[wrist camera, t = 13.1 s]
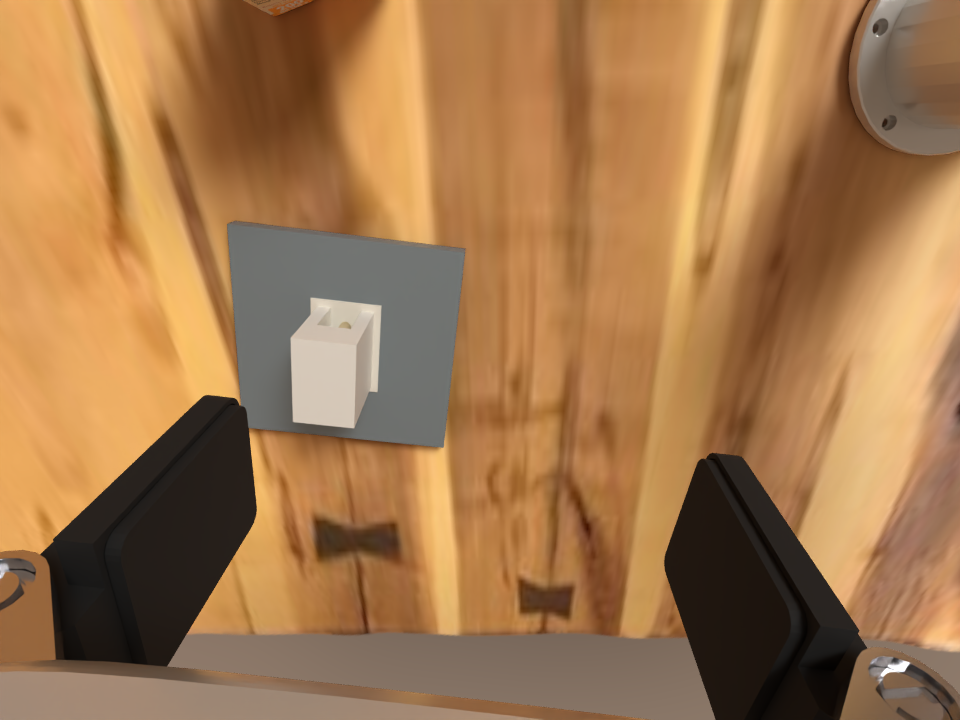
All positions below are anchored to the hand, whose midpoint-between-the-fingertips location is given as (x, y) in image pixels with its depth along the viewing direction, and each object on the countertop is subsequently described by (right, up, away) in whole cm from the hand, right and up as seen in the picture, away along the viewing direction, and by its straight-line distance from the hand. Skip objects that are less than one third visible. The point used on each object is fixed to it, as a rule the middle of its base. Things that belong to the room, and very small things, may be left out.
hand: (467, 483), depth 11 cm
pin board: (-10, +4, +29) cm, 31 cm away
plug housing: (-10, +3, +28) cm, 30 cm away
